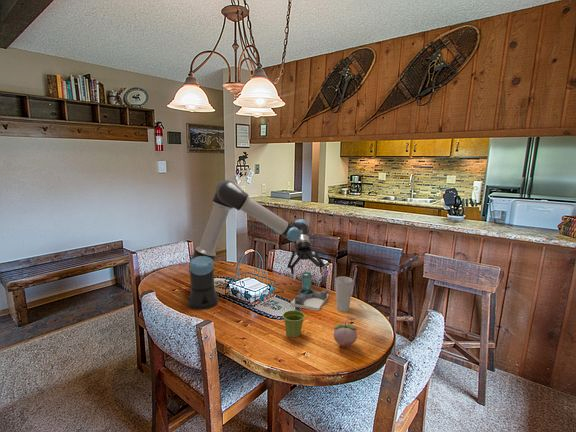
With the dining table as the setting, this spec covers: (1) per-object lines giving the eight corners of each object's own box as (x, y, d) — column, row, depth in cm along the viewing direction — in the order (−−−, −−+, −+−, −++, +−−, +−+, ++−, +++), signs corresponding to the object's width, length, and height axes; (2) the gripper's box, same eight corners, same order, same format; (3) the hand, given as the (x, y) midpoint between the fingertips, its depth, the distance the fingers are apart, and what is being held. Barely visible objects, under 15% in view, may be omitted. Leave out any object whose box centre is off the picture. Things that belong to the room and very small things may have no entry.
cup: (351, 313, 156) (352, 283, 153) (333, 312, 157) (334, 282, 154) (351, 306, 164) (352, 277, 161) (334, 304, 165) (335, 275, 163)
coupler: (312, 296, 171) (312, 274, 169) (302, 297, 170) (302, 275, 168) (310, 293, 176) (310, 271, 174) (301, 293, 175) (301, 272, 173)
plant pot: (291, 326, 144) (291, 308, 143) (308, 333, 138) (309, 314, 137) (278, 334, 137) (278, 315, 136) (295, 342, 131) (295, 323, 130)
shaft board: (318, 311, 158) (318, 301, 157) (290, 305, 164) (290, 295, 163) (328, 296, 175) (328, 287, 174) (302, 292, 180) (302, 283, 179)
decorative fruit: (353, 339, 134) (354, 317, 132) (358, 351, 126) (359, 327, 124) (331, 340, 133) (331, 317, 131) (334, 351, 125) (335, 328, 123)
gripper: (323, 246, 188) (328, 280, 176) (281, 248, 185) (283, 282, 174) (325, 240, 182) (331, 275, 170) (282, 241, 179) (284, 277, 167)
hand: (307, 279), depth 172 cm, fingers open, 13 cm apart
